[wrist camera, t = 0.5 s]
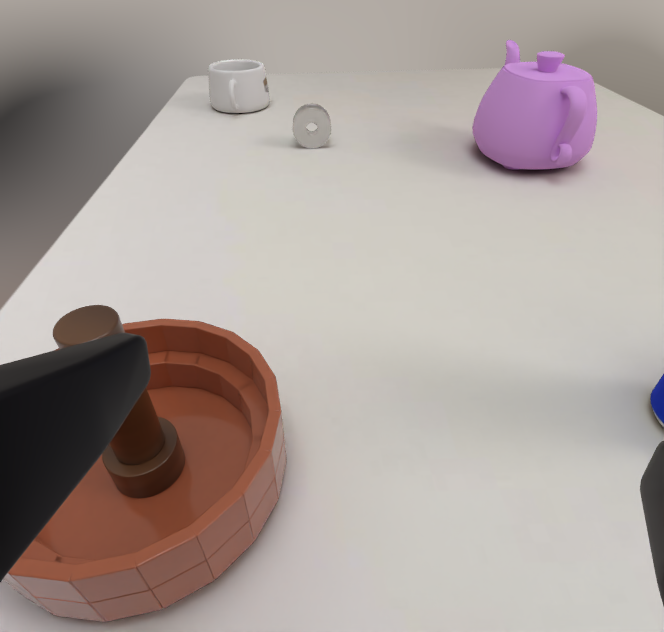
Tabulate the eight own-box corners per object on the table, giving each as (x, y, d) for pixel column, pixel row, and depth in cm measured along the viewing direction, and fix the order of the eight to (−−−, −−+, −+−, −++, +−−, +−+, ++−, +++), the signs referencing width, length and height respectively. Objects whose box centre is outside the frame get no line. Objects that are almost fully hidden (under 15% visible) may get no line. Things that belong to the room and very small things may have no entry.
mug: (216, 97, 80) (211, 58, 76) (272, 97, 80) (270, 58, 76) (202, 119, 71) (195, 76, 67) (265, 119, 71) (262, 76, 67)
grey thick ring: (293, 148, 62) (291, 109, 59) (294, 140, 64) (292, 102, 61) (331, 148, 62) (331, 108, 59) (330, 140, 64) (330, 101, 61)
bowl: (175, 695, 18) (140, 656, 15) (-63, 542, 22) (-130, 486, 19) (328, 420, 28) (328, 362, 25) (142, 352, 32) (121, 295, 29)
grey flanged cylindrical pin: (154, 510, 23) (83, 367, 16) (98, 482, 24) (12, 338, 17) (199, 451, 25) (153, 308, 19) (146, 429, 26) (87, 286, 20)
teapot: (613, 182, 54) (659, 69, 46) (503, 189, 52) (532, 73, 45) (532, 125, 69) (556, 33, 61) (444, 130, 67) (459, 36, 60)
